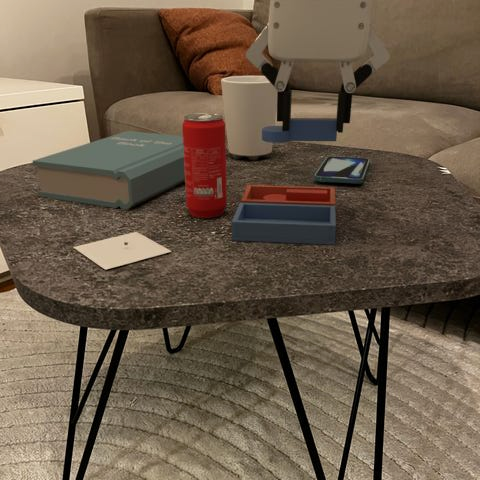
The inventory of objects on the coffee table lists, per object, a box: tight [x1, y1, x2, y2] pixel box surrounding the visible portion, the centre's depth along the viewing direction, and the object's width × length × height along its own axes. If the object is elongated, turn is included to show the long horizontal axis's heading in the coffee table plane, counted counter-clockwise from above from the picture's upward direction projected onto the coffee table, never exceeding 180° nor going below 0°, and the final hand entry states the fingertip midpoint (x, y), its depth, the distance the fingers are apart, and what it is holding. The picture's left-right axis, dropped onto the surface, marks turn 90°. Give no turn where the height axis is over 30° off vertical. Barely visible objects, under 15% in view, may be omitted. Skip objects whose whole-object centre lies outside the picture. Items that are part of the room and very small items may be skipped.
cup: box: [220, 75, 278, 162], centre depth 101 cm, size 10×10×13 cm
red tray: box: [240, 184, 336, 207], centre depth 77 cm, size 12×7×2 cm, turn 83°
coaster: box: [72, 231, 173, 271], centre depth 65 cm, size 8×8×1 cm
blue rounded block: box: [262, 117, 338, 144], centre depth 65 cm, size 8×3×2 cm, turn 82°
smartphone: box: [313, 155, 371, 185], centre depth 94 cm, size 7×1×15 cm
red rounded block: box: [263, 189, 327, 202], centre depth 76 cm, size 8×3×2 cm, turn 82°
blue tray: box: [231, 202, 337, 246], centre depth 70 cm, size 12×7×2 cm, turn 83°
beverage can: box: [181, 112, 228, 219], centre depth 74 cm, size 5×5×12 cm
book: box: [31, 130, 185, 211], centre depth 88 cm, size 23×16×5 cm
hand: (312, 127), depth 65 cm, fingers closed on blue rounded block, 5 cm apart
